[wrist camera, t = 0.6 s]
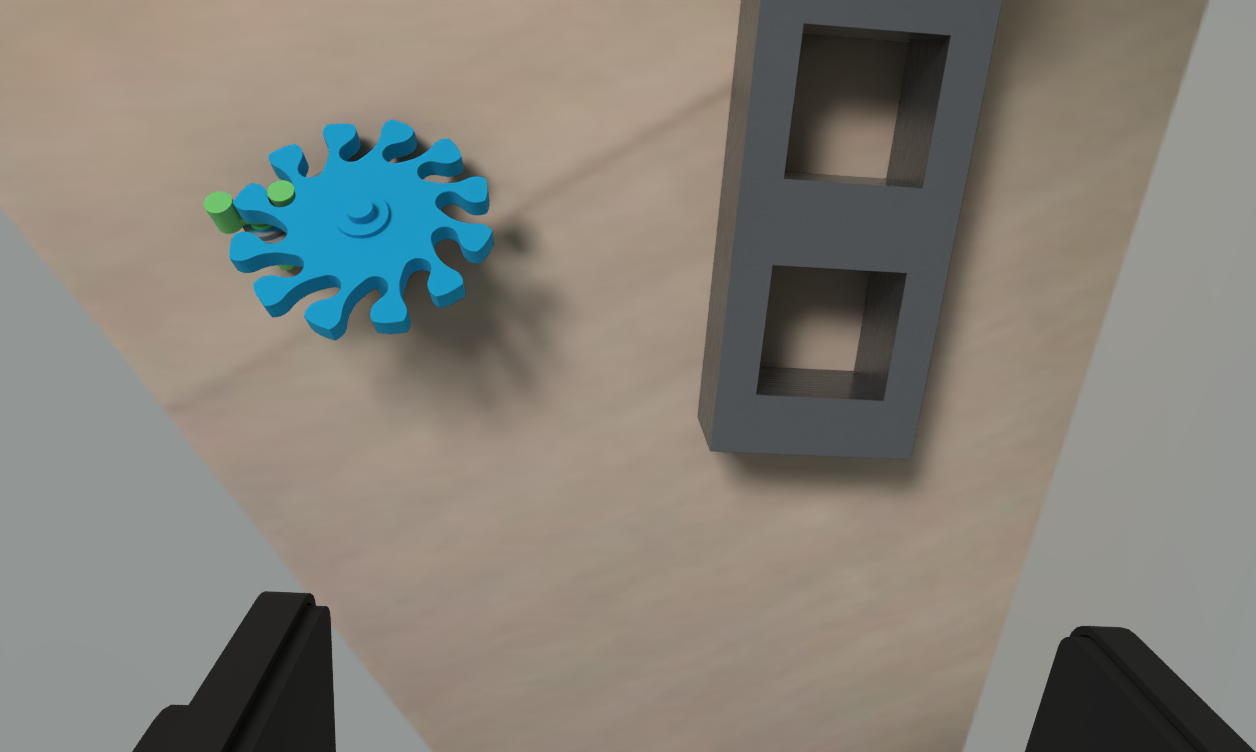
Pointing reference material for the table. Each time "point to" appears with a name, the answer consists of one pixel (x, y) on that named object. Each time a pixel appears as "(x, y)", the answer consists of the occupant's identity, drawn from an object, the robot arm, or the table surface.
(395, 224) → the gear
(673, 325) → the table surface
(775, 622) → the table surface
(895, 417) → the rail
